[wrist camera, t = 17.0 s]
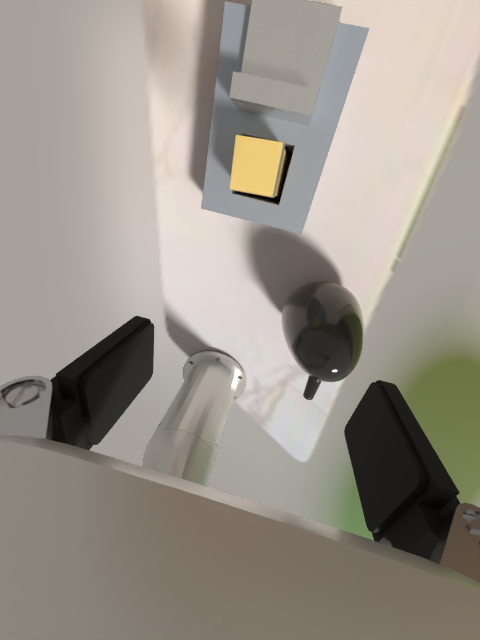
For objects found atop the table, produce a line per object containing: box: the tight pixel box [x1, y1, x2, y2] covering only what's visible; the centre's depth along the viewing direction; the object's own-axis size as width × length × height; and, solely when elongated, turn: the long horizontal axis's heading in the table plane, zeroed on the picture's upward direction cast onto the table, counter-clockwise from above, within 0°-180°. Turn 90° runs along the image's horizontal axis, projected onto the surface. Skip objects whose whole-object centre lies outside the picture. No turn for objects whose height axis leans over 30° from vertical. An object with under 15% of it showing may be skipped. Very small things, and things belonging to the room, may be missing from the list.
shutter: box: [230, 0, 342, 125], centre depth 19 cm, size 7×7×3 cm
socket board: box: [201, 1, 369, 234], centre depth 25 cm, size 16×12×5 cm
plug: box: [230, 135, 287, 198], centre depth 25 cm, size 4×4×10 cm
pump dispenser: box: [282, 282, 364, 400], centre depth 29 cm, size 10×10×15 cm
